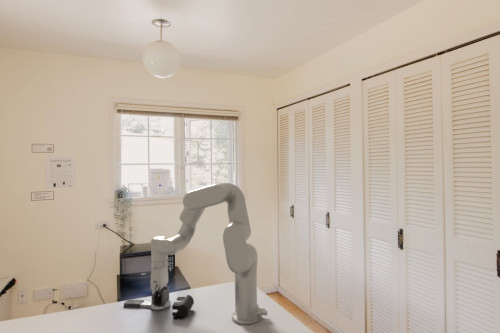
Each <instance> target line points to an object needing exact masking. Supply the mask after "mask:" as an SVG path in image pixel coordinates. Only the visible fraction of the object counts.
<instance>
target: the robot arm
mask: <svg viewBox="0 0 500 333" xmlns="http://www.w3.org/2000/svg"><path fill="white" fill-rule="evenodd" d="M223 203H226V204H227V217H228V223H229V224H228V225H227V226H226V227H225V228H224V230H223V233H222V240H223V242H222V243H223V247H224V253H225V254H224V255H225V258H226V264H227V266H228V268H229V270H230V271H231V272H232V273H233V274H234V303H235V304H234V306H235V308H234V309H235V310H234V311H233V312H232V314H231V319H232V321H233V322H235V323H236V324H239V325H253V324H255V323H258V322H259V321H260V320H261V318H262V316H268V309H267V310H266V308H265V307H263V308H261V307H259V304H258V287H257V284H258V283H257V282H258V280H257V279H258V278H257V276H258V275H257V274H258V272H257V268H258V250H257V249H256V247H255V246H254V245H252V243H247V240H248V239H249V238H250V237H251V235H252V229H251V224H250V218H249V213H248V209H247V203H246V198H245V195H244V193H243V191H242V189H240V188H239V186H238V185H236V184H233V183H230V182H219V183H215V184H210V185H207V186H204V187H201V188H198V189H197V188H196V189H194V190H190V191H188V192H186V193H185V194H184V196H183V198H182V205H183V207H184V208H183V210H182V211H181V213H180V215H179V220H180V222H181V223H182V225H181V227H180V229H179V230H178V232H177V234H175V235H174V236H171V237H169V238H167V236H164V235H158V236H154V237H152V238H151V240H150V252H151V253H150V255H151V259H150V260H151V271H150V290H151V292H152V293H153V296H154V304H155V305H160V304H161V296H160V292H161V289H162V288H163V287H168V283H169V270H168V269H169V267H168V266H169V256H174V255H176V254H177V253H179V252H180V251H182V250H184V249H186V248H187V246H188V245H189V244H190V242H191V240H192V239H193V237H194V235H195V233H196V232H195V231H196V228H197V224H198V223H199V222H198V221H199V220H200V218H201V216H202V214H203V213H204V211H205V210H206V208H210V207H214V206H216V205H219V204H223ZM156 288H159V289H156ZM156 290H159V291H158V292H156Z"/></svg>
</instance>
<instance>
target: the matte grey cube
mask: <svg viewBox="0 0 500 333" xmlns="http://www.w3.org/2000/svg"><path fill="white" fill-rule="evenodd" d="M156 289H159V288H156ZM158 291H159V290H156V292H158ZM150 293H151V301H152V305H155V304H154V296H153V293H152V291H151V292H150ZM160 296H161V304H160V305H165V304H166V302H167V301H168V300H170V286H167V287H163V288H162V289H161V292H160Z"/></svg>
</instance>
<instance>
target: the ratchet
mask: <svg viewBox="0 0 500 333" xmlns="http://www.w3.org/2000/svg"><path fill="white" fill-rule="evenodd" d="M171 307H172V305H171V300H170V299H169V300H168V301H167V302H166V304H165V305H152V300H151V301H150V300H149V301H148V300H146V301H145V299H127V300H126V301H125V302H124V303H123V308H135V309H138V308H139V309H140V308H141V309H142V308H143V309H150V310H151V311H153V312H162V311H166V310H168V309H170V308H171Z"/></svg>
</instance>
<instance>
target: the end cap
mask: <svg viewBox="0 0 500 333" xmlns="http://www.w3.org/2000/svg"><path fill="white" fill-rule="evenodd" d="M176 301H177V302H175V301H174V302H173V304H172V305H171V310H173V311H172V312H171V315H172V320H184V319H185V318H186V317H187V316H188V314H189V312H191V309H192V307H193V306H194V304H195V300H194V298H193V296H192V295H190V294H187V295H186V296H178V297H177V298H176ZM175 310H176V311H175Z"/></svg>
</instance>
